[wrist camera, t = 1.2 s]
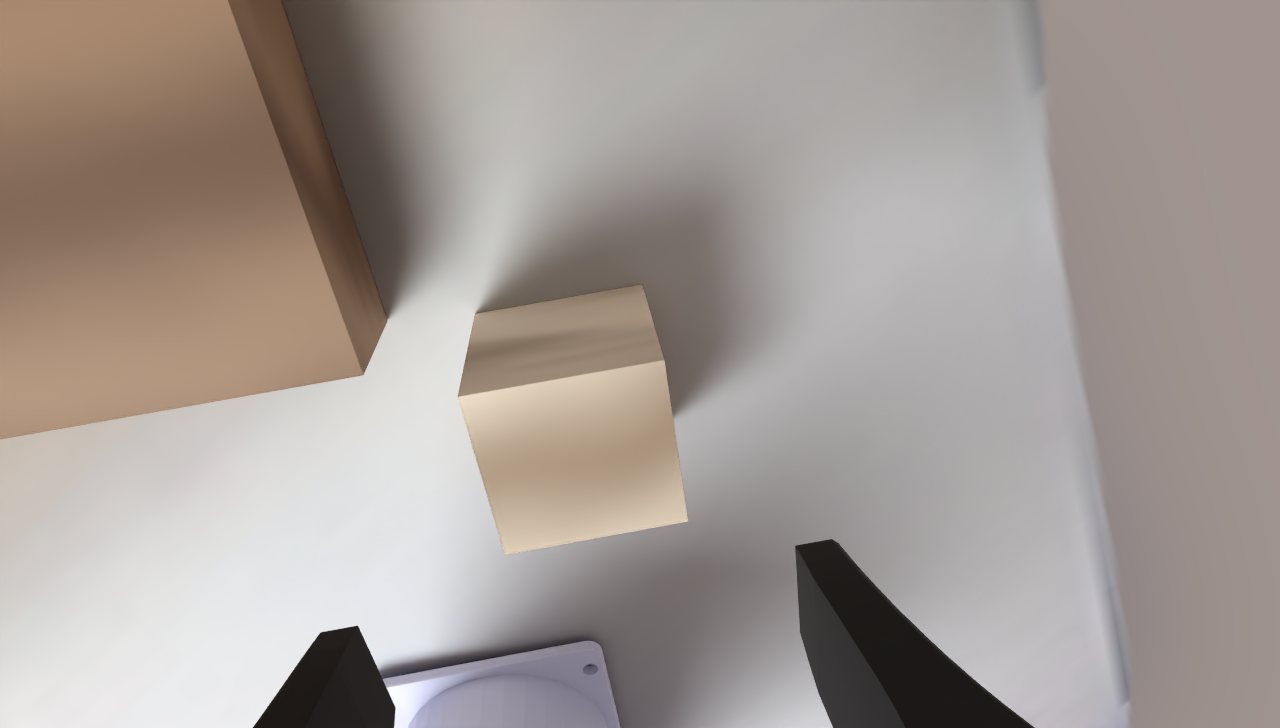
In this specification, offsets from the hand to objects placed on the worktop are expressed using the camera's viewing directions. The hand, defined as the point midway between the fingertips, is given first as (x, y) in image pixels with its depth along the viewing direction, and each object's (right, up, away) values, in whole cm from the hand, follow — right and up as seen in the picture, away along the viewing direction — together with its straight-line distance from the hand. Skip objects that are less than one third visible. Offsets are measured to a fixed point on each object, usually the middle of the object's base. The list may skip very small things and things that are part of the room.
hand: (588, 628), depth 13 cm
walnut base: (-11, +9, +5) cm, 15 cm away
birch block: (-1, +4, +9) cm, 10 cm away
